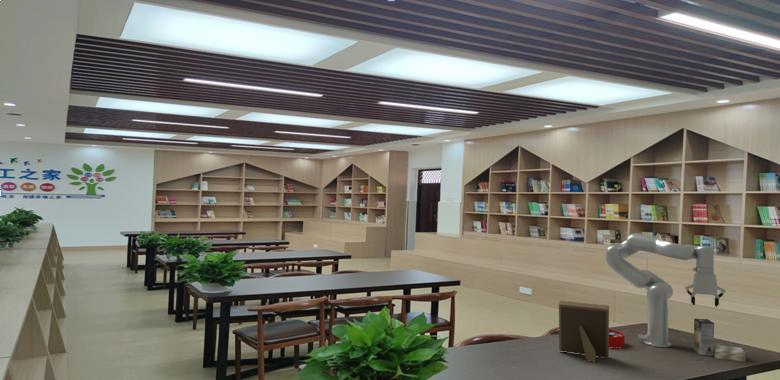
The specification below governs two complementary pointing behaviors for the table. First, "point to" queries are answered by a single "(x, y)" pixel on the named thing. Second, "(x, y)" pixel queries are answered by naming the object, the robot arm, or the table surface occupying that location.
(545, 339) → the table surface
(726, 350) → the stand
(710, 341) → the coffee box
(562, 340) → the photo frame
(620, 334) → the toy clock
